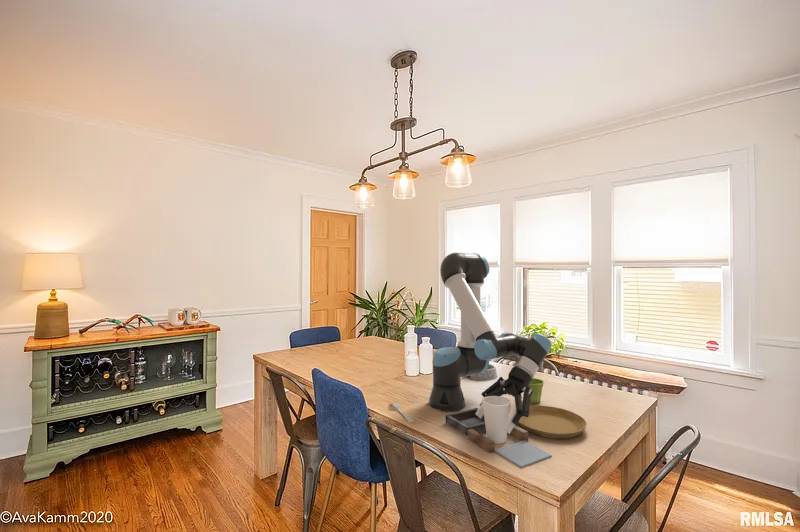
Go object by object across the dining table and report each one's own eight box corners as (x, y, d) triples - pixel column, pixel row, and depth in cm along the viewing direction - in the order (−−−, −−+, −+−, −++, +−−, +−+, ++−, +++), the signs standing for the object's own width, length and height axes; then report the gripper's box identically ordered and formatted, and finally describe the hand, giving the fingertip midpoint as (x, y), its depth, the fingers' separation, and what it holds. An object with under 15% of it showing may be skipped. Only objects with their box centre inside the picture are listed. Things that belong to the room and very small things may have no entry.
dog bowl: (483, 369, 210) (482, 360, 210) (504, 378, 193) (504, 368, 193) (457, 373, 203) (457, 363, 203) (477, 382, 186) (477, 372, 186)
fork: (408, 429, 138) (408, 422, 138) (387, 405, 157) (387, 398, 157) (414, 428, 139) (415, 421, 139) (393, 404, 158) (393, 397, 158)
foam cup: (480, 442, 122) (479, 403, 122) (484, 431, 130) (484, 394, 130) (509, 447, 118) (509, 407, 118) (512, 435, 127) (511, 397, 127)
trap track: (443, 423, 137) (443, 415, 137) (478, 414, 145) (478, 407, 145) (489, 452, 115) (489, 443, 115) (528, 440, 123) (528, 431, 123)
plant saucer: (550, 448, 118) (550, 438, 118) (501, 420, 140) (501, 411, 140) (602, 434, 128) (602, 424, 128) (549, 410, 150) (549, 402, 150)
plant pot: (546, 405, 154) (546, 384, 154) (522, 404, 156) (522, 383, 156) (542, 397, 163) (542, 378, 163) (520, 396, 165) (520, 377, 165)
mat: (494, 451, 116) (494, 449, 116) (524, 441, 122) (524, 440, 122) (521, 467, 106) (521, 466, 106) (551, 456, 112) (551, 454, 112)
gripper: (558, 388, 121) (526, 444, 114) (503, 370, 143) (473, 416, 135) (546, 374, 118) (513, 431, 111) (492, 358, 140) (461, 405, 133)
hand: (491, 423), depth 123 cm, fingers open, 13 cm apart
